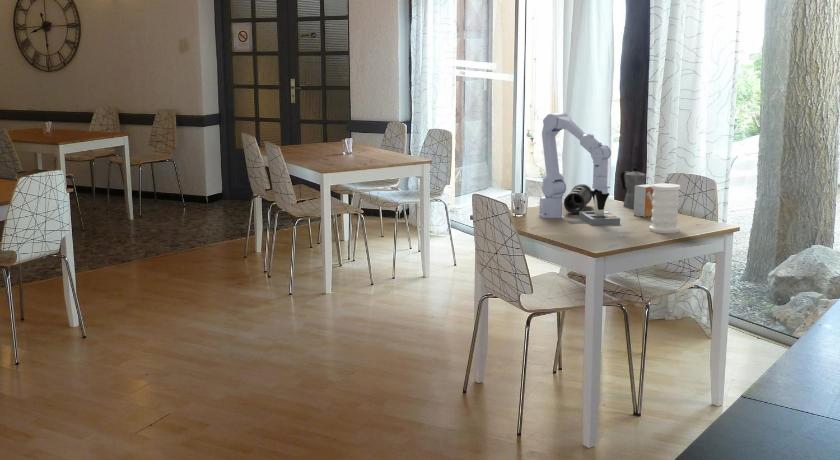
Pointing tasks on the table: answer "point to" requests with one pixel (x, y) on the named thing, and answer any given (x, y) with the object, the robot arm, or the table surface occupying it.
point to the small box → (643, 200)
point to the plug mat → (577, 222)
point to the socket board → (599, 218)
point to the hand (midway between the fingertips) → (599, 208)
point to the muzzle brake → (578, 198)
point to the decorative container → (665, 208)
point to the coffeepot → (631, 185)
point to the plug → (596, 211)
